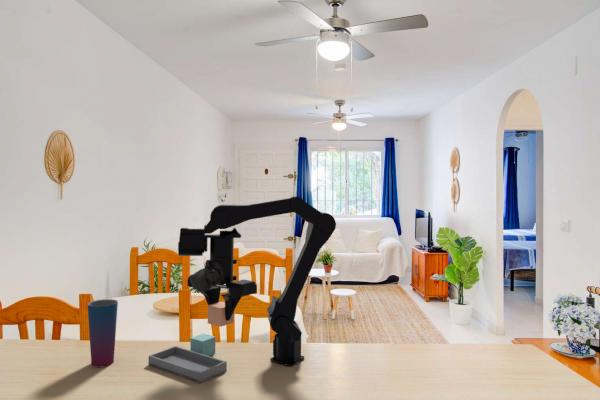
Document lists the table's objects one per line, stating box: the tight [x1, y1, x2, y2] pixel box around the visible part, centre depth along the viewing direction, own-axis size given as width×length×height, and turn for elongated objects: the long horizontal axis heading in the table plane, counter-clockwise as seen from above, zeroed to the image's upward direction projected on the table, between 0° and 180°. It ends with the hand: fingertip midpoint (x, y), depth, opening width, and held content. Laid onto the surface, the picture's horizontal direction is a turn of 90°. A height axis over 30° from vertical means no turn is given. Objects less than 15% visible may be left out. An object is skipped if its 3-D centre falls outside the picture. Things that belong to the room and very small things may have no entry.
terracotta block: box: [207, 301, 235, 327], centre depth 109 cm, size 4×4×4 cm
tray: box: [148, 345, 228, 384], centre depth 106 cm, size 18×8×2 cm, turn 56°
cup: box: [87, 298, 119, 368], centre depth 108 cm, size 7×7×15 cm
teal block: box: [189, 333, 216, 357], centre depth 115 cm, size 4×4×4 cm
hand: (220, 318), depth 109 cm, fingers closed on terracotta block, 4 cm apart
